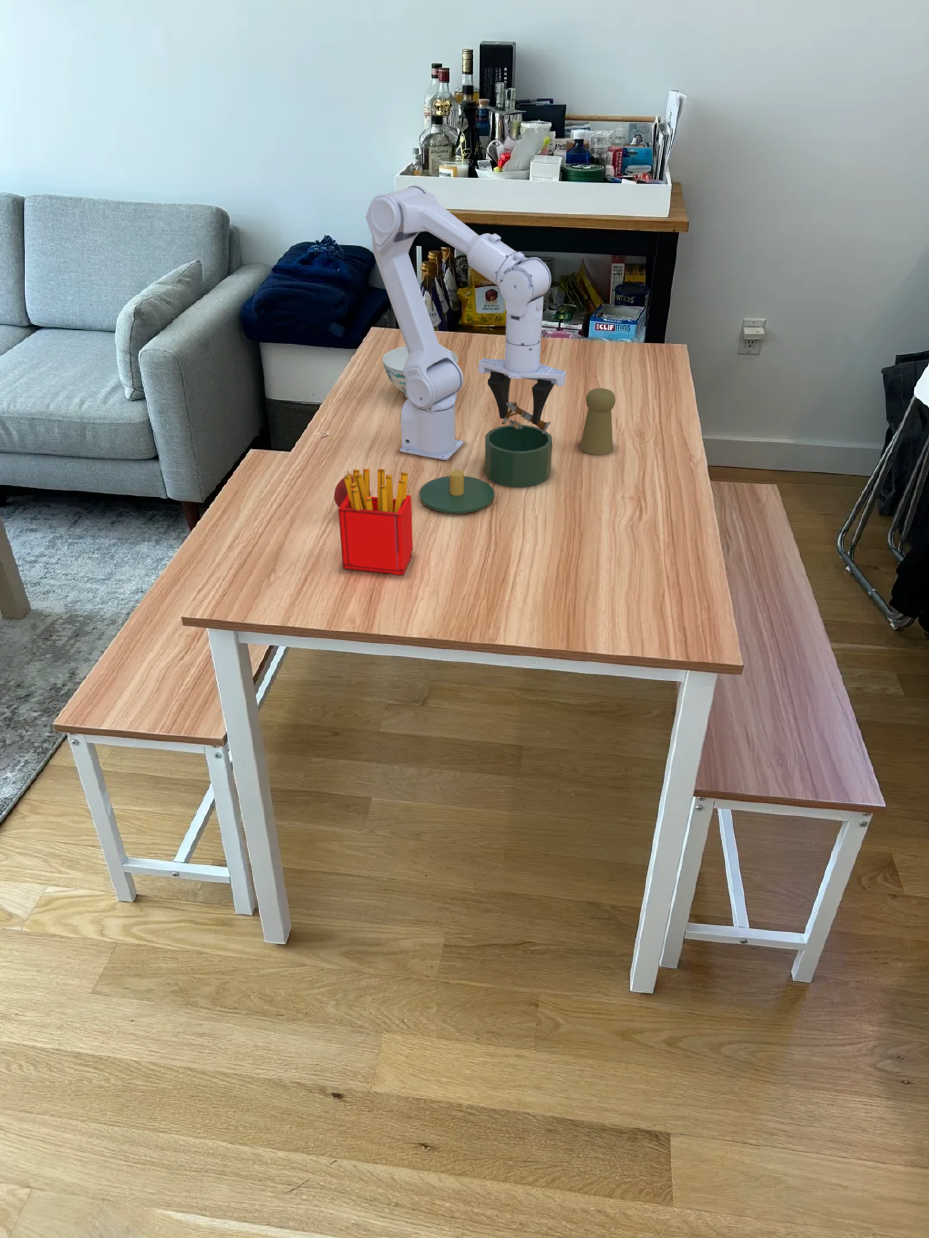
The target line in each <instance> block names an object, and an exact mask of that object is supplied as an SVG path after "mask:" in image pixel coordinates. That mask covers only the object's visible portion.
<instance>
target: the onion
mask: <svg viewBox="0 0 929 1238" xmlns="http://www.w3.org/2000/svg"><path fill="white" fill-rule="evenodd" d="M346 475H351V479H352V483H353V471H351V470H347V473H346ZM333 493H334V494H333V499H334V503H335V505H336V506H337V508H338V509H339V508H340V506H341V504H342V503H343V501H344V499H345V498H346V496H347V494H348V492H347V488H346V484H345V480H344V477H342V478H341V479H340V481H339V482H337V484H336V486H335V489H334V492H333ZM370 496H372V493H371V492H370Z"/></svg>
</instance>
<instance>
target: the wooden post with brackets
mask: <svg viewBox="0 0 929 1238" xmlns="http://www.w3.org/2000/svg"><path fill="white" fill-rule="evenodd" d="M506 405H507V406H508V408H509V409H508V414H507V415H506V417H505V418H504V419H502V422H501V425H502V426H506V423H507V422H509V424H510V425H512V426H514V427H515V428H516V429H517V430H518V428H519V429H522V426H521V425H522V422H518V421H517V419H514V420H513V419H510V417H512V416H516V415H519V416H520V418H523V420H526V421H527V422H528V423H532V417H533V414H531V413H529V411H526V410H525V409H522V408H521V407H519V405H518V403H517V402H516V401H515V402H513V401H511V402H510V401H509V402H507V403H506ZM550 425H551V421H549V420H548V422H546V421H544V420H542V419H540V421H539V422H538V424H536V425H535V427H537V428H540V429H541V430H542V431H543V432H542V433H543V434H544V433H545V431H546V432H547V430H548V428H549V426H550Z"/></svg>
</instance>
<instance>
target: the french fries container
mask: <svg viewBox="0 0 929 1238" xmlns="http://www.w3.org/2000/svg"><path fill="white" fill-rule="evenodd" d="M370 470H371V469H370V468H363V469H362V473H361V471H360V470H359V468H355V469H352V473H353V483H352V479H351V475H347V474H346V475H344V477H343V478H344V480H345V484H346V488H347V492H348V494H347V496H346V498H345V499H344V501H343V503H342V504H341V506H340V508H339V507H338V509H337V511H338V523H339V537H340V549H341V560H342V569H343V570H351V571H358V572H359V571H360V572H370V573H379V574H390V575H396V576H397V575H399V576H404V575H405V573H406V571H407V568H408V566H409V564H410V562H411V559H412V557H413V556H412V555H413V550H414V549H413V548H414V545H413V518H412V517H413V516H412V515H413V514H412V495H410V494H407V493H408V492H407V491H408V479H409V473H408V472H407V471H401V472H400V478H399V480H398V485H397V490H396V497H395V498H394V486H393V475H392V474H386V469H385V468H378V469H376V471H377V472H376V473H377V496H372V495H371V496H370V493H371V489H370V488H371V485H370V484H371V483H370V481H371V477H370V476H371V473H370V472H371V471H370Z"/></svg>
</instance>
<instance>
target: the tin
mask: <svg viewBox="0 0 929 1238" xmlns="http://www.w3.org/2000/svg"><path fill="white" fill-rule="evenodd" d="M520 425H521V426H522V429H519V428H518V430H517V429H516V428H515V427H514V426H512V424H507V425H506V424H505V425H501V426H497V427H495V428H493V429H490V430H489V431H488V432H487V433H486V434H485V435H484V475H485V476H486V478H487V479H488V480H489V481H491V482H493V483H495V484H497V485H500V486H503V487H507V488H508V487H510V488H529V487H534V486H538V485H540V484H543V483H545V482H546V481H547V480H548V479H549V477H550V475H551V469H552V452H553V437H552V435H551V434H550V433H549V432H548V431H547V430H546V431H545V433H544V434H543V433H542V432H543V431H542V430H541V429H540V428H539V427H537V426H533V425H528V424H520Z"/></svg>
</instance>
